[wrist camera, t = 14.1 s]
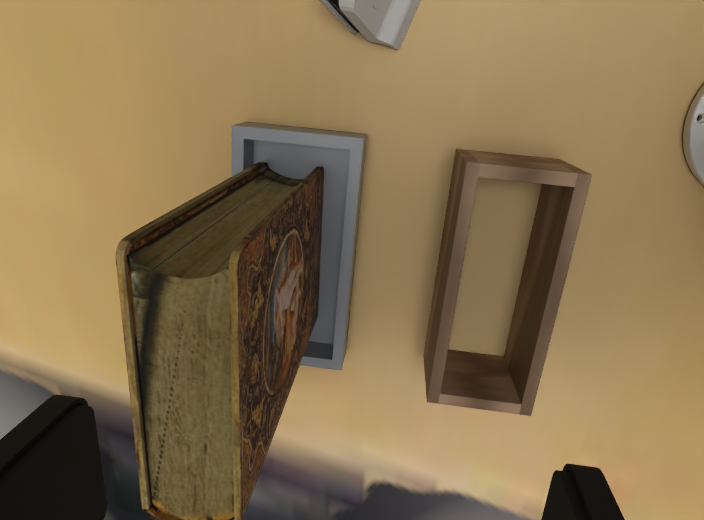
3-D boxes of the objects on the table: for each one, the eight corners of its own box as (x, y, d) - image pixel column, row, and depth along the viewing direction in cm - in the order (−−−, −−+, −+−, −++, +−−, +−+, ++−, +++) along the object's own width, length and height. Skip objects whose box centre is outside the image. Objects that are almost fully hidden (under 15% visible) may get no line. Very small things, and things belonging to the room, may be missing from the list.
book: (317, 326, 50) (242, 540, 27) (264, 321, 50) (143, 526, 27) (325, 163, 45) (237, 251, 21) (265, 158, 45) (113, 239, 21)
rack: (559, 159, 43) (592, 174, 36) (511, 366, 51) (530, 415, 43) (456, 148, 44) (466, 162, 36) (423, 355, 51) (427, 401, 44)
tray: (367, 134, 44) (363, 138, 41) (346, 349, 52) (341, 370, 48) (246, 121, 45) (232, 125, 41) (243, 336, 52) (230, 355, 49)
